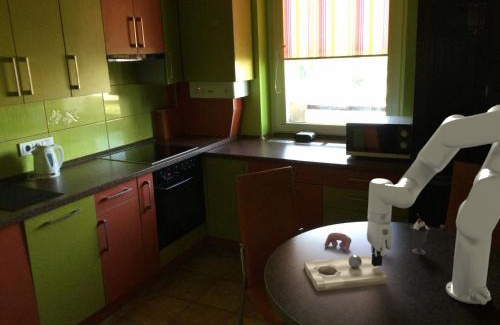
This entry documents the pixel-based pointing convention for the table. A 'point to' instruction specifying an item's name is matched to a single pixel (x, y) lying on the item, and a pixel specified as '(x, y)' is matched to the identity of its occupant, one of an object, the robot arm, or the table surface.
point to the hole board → (343, 273)
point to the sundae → (419, 235)
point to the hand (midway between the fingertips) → (376, 264)
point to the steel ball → (355, 261)
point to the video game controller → (341, 237)
